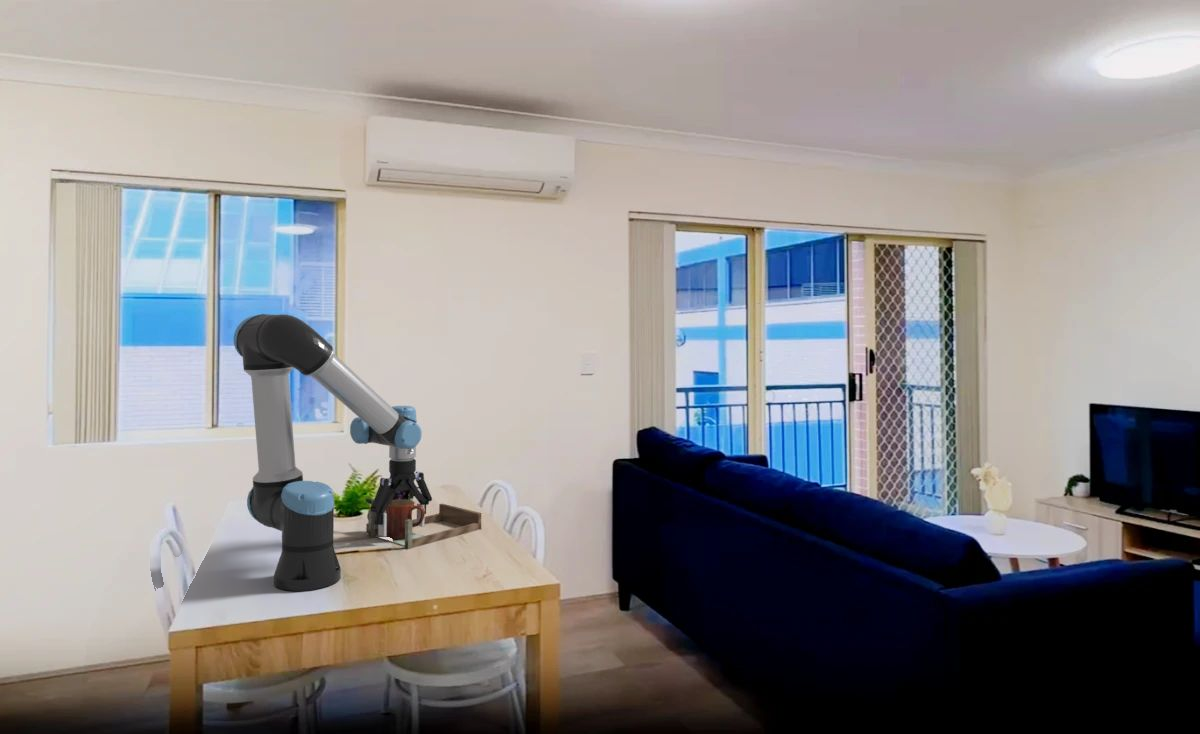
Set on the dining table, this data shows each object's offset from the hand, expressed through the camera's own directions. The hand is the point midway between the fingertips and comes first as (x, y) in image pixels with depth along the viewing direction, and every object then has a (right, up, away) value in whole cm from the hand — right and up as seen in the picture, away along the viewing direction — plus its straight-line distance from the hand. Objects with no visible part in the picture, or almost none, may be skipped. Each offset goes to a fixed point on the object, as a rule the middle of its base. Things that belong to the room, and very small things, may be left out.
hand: (401, 530), depth 213 cm
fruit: (-12, 0, +45) cm, 46 cm away
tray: (+3, -2, +9) cm, 10 cm away
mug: (0, -2, +1) cm, 3 cm away
